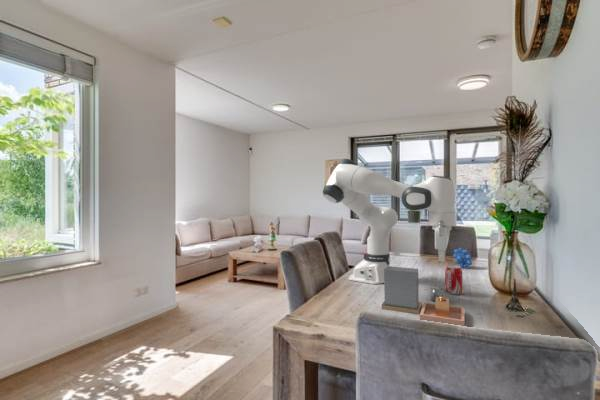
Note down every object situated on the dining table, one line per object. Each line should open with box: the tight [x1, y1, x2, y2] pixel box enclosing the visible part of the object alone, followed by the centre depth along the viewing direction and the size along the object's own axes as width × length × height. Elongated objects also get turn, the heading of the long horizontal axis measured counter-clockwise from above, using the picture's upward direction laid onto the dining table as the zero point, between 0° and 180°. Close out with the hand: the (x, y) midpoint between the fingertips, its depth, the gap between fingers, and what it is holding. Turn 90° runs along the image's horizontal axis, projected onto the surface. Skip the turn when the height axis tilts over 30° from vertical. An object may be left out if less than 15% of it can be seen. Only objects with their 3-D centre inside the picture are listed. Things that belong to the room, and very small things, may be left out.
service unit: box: [381, 265, 423, 315], centre depth 124 cm, size 14×10×16 cm
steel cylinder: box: [430, 286, 445, 303], centre depth 131 cm, size 5×5×5 cm
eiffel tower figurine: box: [504, 277, 536, 319], centre depth 119 cm, size 15×10×13 cm
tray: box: [419, 301, 466, 326], centre depth 113 cm, size 14×14×2 cm
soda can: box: [444, 264, 464, 295], centre depth 141 cm, size 7×7×12 cm
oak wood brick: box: [434, 295, 451, 318], centre depth 113 cm, size 4×4×7 cm
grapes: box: [452, 247, 473, 269], centre depth 186 cm, size 12×7×12 cm, turn 29°
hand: (442, 258), depth 113 cm, fingers open, 8 cm apart
